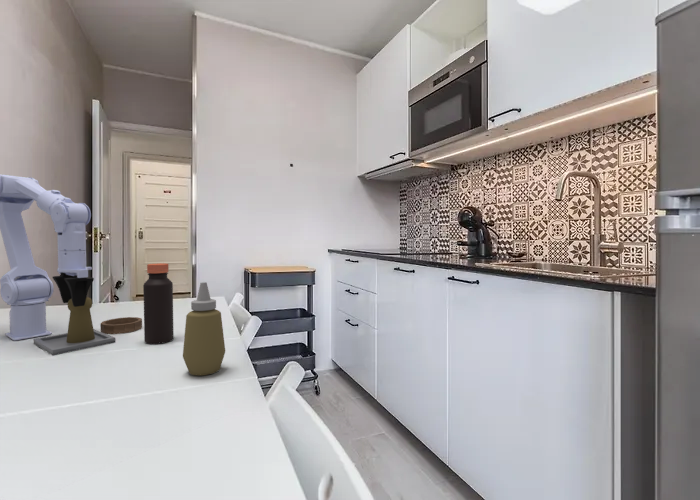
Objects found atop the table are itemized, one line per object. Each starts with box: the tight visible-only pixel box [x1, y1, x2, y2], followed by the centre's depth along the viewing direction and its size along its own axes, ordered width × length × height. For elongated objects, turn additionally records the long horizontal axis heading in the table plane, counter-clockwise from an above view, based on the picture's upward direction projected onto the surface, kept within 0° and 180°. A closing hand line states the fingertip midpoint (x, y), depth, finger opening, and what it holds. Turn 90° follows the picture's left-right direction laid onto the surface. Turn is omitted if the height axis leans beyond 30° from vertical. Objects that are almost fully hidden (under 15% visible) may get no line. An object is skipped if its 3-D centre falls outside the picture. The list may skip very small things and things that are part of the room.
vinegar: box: [142, 262, 175, 345], centre depth 96 cm, size 7×7×20 cm
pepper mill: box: [66, 296, 95, 343], centre depth 96 cm, size 6×6×11 cm
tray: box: [33, 328, 116, 356], centre depth 95 cm, size 15×13×1 cm
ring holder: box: [99, 316, 143, 335], centre depth 108 cm, size 10×10×2 cm
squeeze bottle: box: [182, 281, 226, 377], centre depth 75 cm, size 8×8×18 cm
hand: (73, 304), depth 94 cm, fingers open, 7 cm apart
